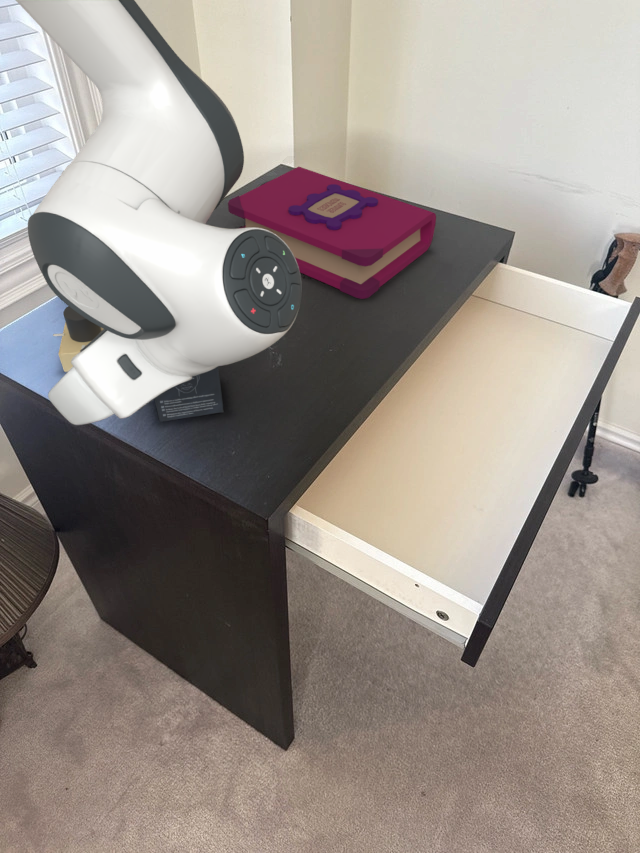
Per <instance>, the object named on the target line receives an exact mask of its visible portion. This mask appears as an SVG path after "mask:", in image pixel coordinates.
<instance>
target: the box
mask: <svg viewBox="0 0 640 853" xmlns="http://www.w3.org/2000/svg"><path fill="white" fill-rule="evenodd" d="M221 386H222V384H221V378H220V369H219V366H218V367H216V368H214V369H212V370H210V371H208V372H205V373H202V374H199V375H196V376H193V377H192V379H191V380H189V381H187V382H184V383H181V384H179V385H176V386H174V387H172V388H170V389H168V390H166V391H165V392H164V393H163V394H161V395H160V396H158V397H157V398H155V399H154V402H155V403H154V404H155V407H156V412H157V418H158V420H159V421H160V422H161V423H164V422H168V421H174V420H182V419H188V418H194V417H200V416H206V415H213V414H220V413H224V403H223V402H224V401H223V395H222V394H223V393H222V387H221Z"/></svg>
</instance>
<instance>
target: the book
mask: <svg viewBox="0 0 640 853" xmlns="http://www.w3.org/2000/svg"><path fill="white" fill-rule="evenodd" d="M227 209H228V212H229V214H230V215H234V216H236V217H239V218H241V219H243V220H245V225H244V226H242V225H241V226H240V227H238V228H237V229H239V228H251V227H254V228H262V229H265V230H268V231H270V232H272V233H274V234H276V235H277V236H278V237H280V238H281V239H282V240H283V241H284V242H285V243H286V244H287V246H288V247H289V248H290V250H291V251H292V253H293V255H294V257H295V259H296V261H297V264H298V267H299V271H300V274H303V275H305V276H307V277H310V278H312V279H314V280H316V281H319V282H322V283H324V284H326V285H329V286H331V287H333V288H335V289H337V290H339V291H340V292H342V293H344V294H347V295H348V296H351V297H353V298H355V299H359V300H365V299H369V298H370V297H371V296H373V295H374V294H375V293H377V292H378V291H379V290H380V287H382V286H384V284H386V283H387V282H388V281H390V280H391V279H392V278H393V277H395V276H396V275H397V274H399V273H400V272H402V271H403V270H404V269H406V268H407V267H408V266H410V264H411V263H413V262H414V261H415V260H417V259H418V258H420V257H421V256H422V255H424V254H425V253H427V251H428V250H429V248H430V247H431V245H432V242H433V239H434V234H435V230H436V229H435V228H436V223H437V215H436V213H435V212H433V211H430V210H428V209H424V208H422V207H418V206H416V205H413V204H410V203H408V202H407V203H406V202H404V201H401V200H398V199H395V198H392V197H389V196H386V195H383V194H380V193H378V192H374V191H372V190H370V189H369V190H368V189H366V188H363V187H360V186H357V185H354V184H351V183H348V182H345V181H343V180H340V179H337V178H333V177H330V176H327V175H325V174H322V173H320V172H316V171H313V170H311V169H307V168H304V167H302V166H297V167H295V168H294V169H293V168H292V169H291V170H289V171H287V172H285V173H283V174H281V175H279V176H277V177H275V178H273V179H270V180H269V181H267V182H265V183H263V184H261V185H259V186H257V187H255V188H253V189H251V190H249V191H247V192H245V193H242V194H241V195H237V196H235V197H233V198H231V199H229V200H228V202H227Z"/></svg>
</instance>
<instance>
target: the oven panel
mask: <svg viewBox="0 0 640 853" xmlns="http://www.w3.org/2000/svg"><path fill="white" fill-rule="evenodd" d="M102 330H103V328H101V331H102ZM52 336H53V337H61V339H60V345H59V349H58V357H59V361H60V363H61V366H62V369H63V372H64V373H67V372H68V371H69V370H70V369H71V368H72V367H73V365H72V364H71V360H72V358H73V357H74V356H76V355H77V354H78V353H79V352H80V350H81V349H82V348H84V347H85V346H86V345H87V344H88V343H90V342H91V341H89V342H76V341H74V340H72V339H71V337H70V335H69V331H68V328H67V325H66V322H64V326H63V331H62V333H53V334H52Z"/></svg>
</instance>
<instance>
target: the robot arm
mask: <svg viewBox="0 0 640 853" xmlns="http://www.w3.org/2000/svg"><path fill="white" fill-rule="evenodd" d="M15 1H16V2H17V3H18V5H19V6H20V7H21V8H22V9H23V10H24V12H26V13H27V15H29V16H30V17H31V19H33V21H34V22H35V23H36V24H37V25H38V26H39V27H40V28H41V29H42V30H43V31H44V32H45V33H46V34H47V36H49V38H51V40H52V41H53V42H54V43H55V44H56V45H57V46H58V47H59V48H60V49H61V50H62V52H63V53H64V54H65V55H67V57H68V58H69V59H70V60H71V61H72V62H73V63H74V64H75V66H77V67H78V68H79V70H80V71H81V72H82V73H83V74H84V75H85V76H86V77H87V78H88V79H89V80H90V81H91V82H92V83H93V84H94V85H95V87H96V88H97V90H98V93H99V94H100V97H101V98H100V99H101V103H102V111H101V112H102V113H101V119H100V122H99V123H98V125H97V126H96V127H95V129H94V130H93V132H92V134H90V135H89V137H88V139H87V140H86V142H85V143H84V144H83V146H82V147H81V148H80V150H79V151H78V152H77V154H76V155H75V156H74V158H73V160H72V161H71V162H70V164H68V165H67V166H66V167H65V169H64V170H63V171H62V172H61V173H60V176H59V177H58V178H57V179H56V180H55V182H54V183H53V184H52V186H51V187H50V188H49V190H48V192H47V193H46V195H45V196H44V198H42V201H41V202H40V203H39V204H38V206H37V207H36V209H35V210H34V212H32V215H30V216H29V218H28V221H27V235H28V240H29V244H30V249H31V251H32V254H33V257H34V260H35V262H36V264H37V266H38V268H39V270H40V272H41V275H42V276H43V279H44V280H45V282H46V284H47V285H48V287H49V288H50V290H51V291H52V292H53V294H54V295H56V297H58V299H60V300H61V302H63V303H64V304H65V305H67V307H68V306H69V307H70V308H72V309H73V310H74V311H76V312H77V313H78V314H80V315H81V316H83V317H84V318H86V319H87V320H89V321H91V322H92V323H94V324H96V325H97V326H99V327H101V328H103V330H102V331H101V332H100V333H99V334H98V335H97V336H96V337H95V338H94V339H93V340H92V341H91V342H90V343H88V344H87V345H86V346H85V347H84V348H82V349H81V350H80V352H79V353H78V354H77V355H76V356H74V357H73V358H72V360H71V364H72V365H73V367H72V368H71V369H70V370H69V371H68V372H65V374H64V375H63V376H62V377H61V378H60V379H59V380H58V381H56V383H55V384H54V385H53V387H51V388H50V390H49V391H48V394H47V397H48V400H49V401H50V403H51V404H52V405H53V406H54V407H55V409H56V410H57V411H58V412H59V414H61V415H62V416H63V417H64V419H65V420H66V421H68V422H69V423H70V424H71V425H74V426H82V425H88V424H92V423H97V422H101V421H103V420H106V419H108V418H110V417H112V416H114V415H115V416H116V417H117V418H118V419H121V420H123V419H126V418H128V417H131V416H132V415H133V414H135V413H137V412H138V411H140V410H142V409H143V408H144V407H146V406H147V405H149V404H150V403H151V402H153V401H155V398H157V397H158V396H160V395H161V394H163V393H164V392H165V391H166V390H168V389H170V388H172V387H174V386H176V385H179V384H181V383H184V382H187V381H189V380H191V379H192V377H193V376H196V375H199V374H202V373H205V372H208V371H210V370H212V369H214V368H216V367H218V368H219V367H222V366H228V365H232V364H234V363H237V362H240V361H243V360H246V359H248V358H251V357H253V356H255V355H257V354H259V353H261V352H263V351H265V350H266V349H268V348H270V347H271V346H272V345H274V344H275V343H277V342H279V340H281V339H282V338H283V337H284V336H285V335H286V334H287V333H288V331H289V330H290V329H291V328H292V326H293V324H294V323H295V321H296V318H297V316H298V314H299V313H298V312H299V310H300V308H301V303H302V298H303V297H302V295H303V285H302V284H303V282H302V275H301V273H300V271H299V267H298V264H297V261H296V259H295V257H294V255H293V253H292V251H291V250H290V248H289V247H288V246H287V244H286V243H285V242H284V241H283V240H282V239H281V238H280V237H278V236H277V235H276V234H274V233H272V232H270V231H268V230H265V229H262V228H254V227H251V228H239V227H238V228H239V229H238V228H225V227H219V226H214V225H210V224H207V222H208V220H209V219H210V218H211V216H212V215H213V212H214V211H215V210H217V208H218V207H219V205H220V204H221V203H222V202H223V200H224V199H225V198H226V197H227V195H228V194H229V193H230V191H231V190H232V189H233V187H234V186H235V185H236V183H237V182H238V180H239V179H240V177H241V176H242V173H243V169H244V165H245V153H244V147H243V142H242V138H241V135H240V130H239V129H238V125H237V124H236V121H235V119H234V116H233V115H232V113H231V111H230V109H229V108H228V106H227V105H226V104H225V102H224V101H223V100H222V99H221V97H220V96H219V95H218V94H217V92H215V91H214V89H212V88H211V87H210V85H209V84H208V83H206V82H205V81H204V80H203V79H202V78H201V77H200V76H199V75H198V74H197V73H196V72H194V71H193V69H191V68H190V67H189V66H188V65H187V63H185V62H184V61H183V60H182V58H180V56H178V54H177V53H176V52H175V50H174V49H173V48H172V47H171V46H170V44H169V43H168V42H167V41H166V39H165V38H164V37H163V35H161V33H160V32H159V30H158V28H156V26H155V25H154V24H153V22H152V20H150V19H149V17H148V16H147V15H146V13H145V12H144V10H142V8H141V6H139V4H138V3H137V2H136V1H135V0H15Z"/></svg>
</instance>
